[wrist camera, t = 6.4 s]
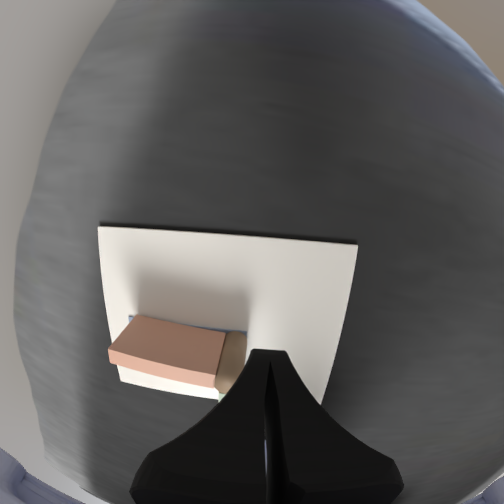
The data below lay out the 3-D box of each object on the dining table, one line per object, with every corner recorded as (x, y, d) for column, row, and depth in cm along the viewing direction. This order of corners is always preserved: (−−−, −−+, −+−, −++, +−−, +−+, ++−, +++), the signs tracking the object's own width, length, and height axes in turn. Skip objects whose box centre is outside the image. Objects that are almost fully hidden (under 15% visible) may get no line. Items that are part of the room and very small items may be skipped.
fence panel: (249, 333, 21) (244, 376, 16) (245, 352, 21) (240, 396, 16) (136, 311, 21) (107, 345, 16) (137, 330, 21) (110, 365, 17)
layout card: (320, 402, 23) (320, 405, 23) (122, 379, 24) (120, 381, 23) (356, 244, 19) (358, 246, 19) (99, 225, 20) (96, 226, 19)
